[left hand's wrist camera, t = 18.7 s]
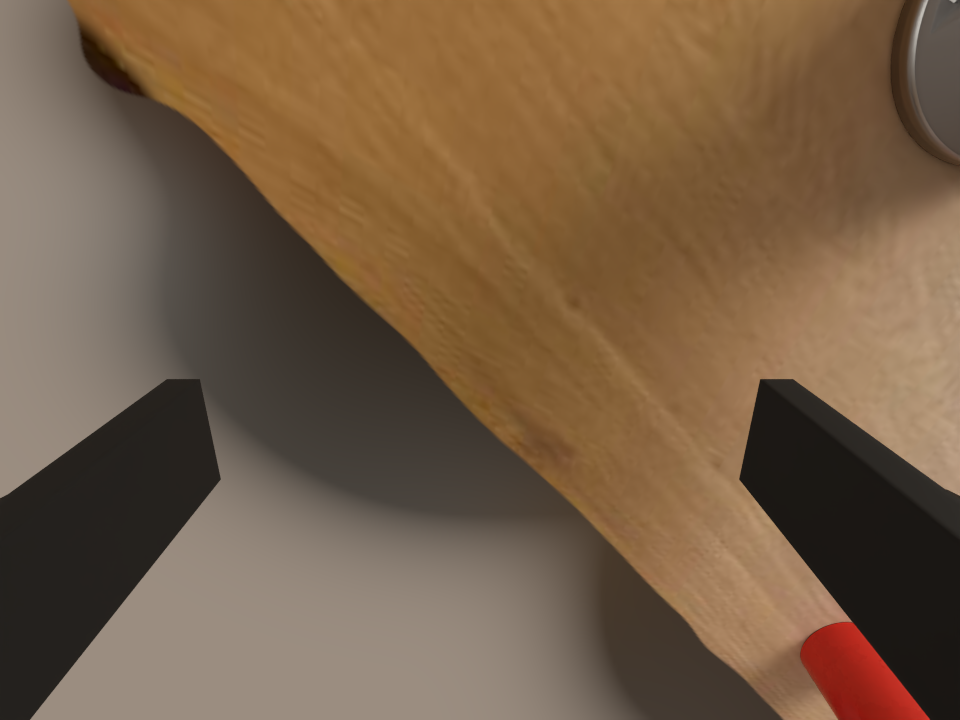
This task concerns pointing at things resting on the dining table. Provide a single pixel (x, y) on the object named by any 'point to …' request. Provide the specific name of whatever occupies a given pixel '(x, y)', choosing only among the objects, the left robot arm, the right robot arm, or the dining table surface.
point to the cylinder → (856, 677)
